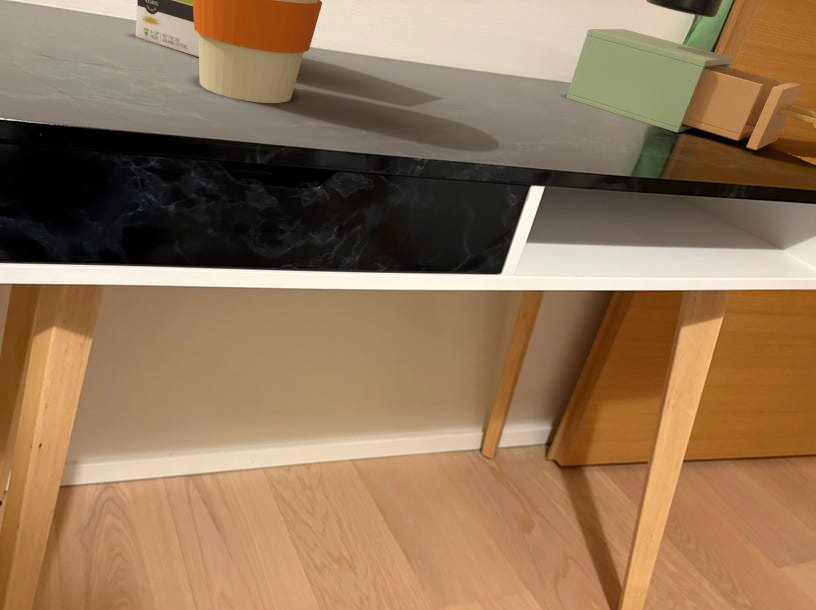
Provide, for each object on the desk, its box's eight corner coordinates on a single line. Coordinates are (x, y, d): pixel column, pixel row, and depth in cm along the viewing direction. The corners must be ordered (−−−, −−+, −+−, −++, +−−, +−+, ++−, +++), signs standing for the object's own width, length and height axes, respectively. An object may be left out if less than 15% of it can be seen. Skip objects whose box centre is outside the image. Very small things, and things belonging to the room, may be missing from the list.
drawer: (822, 154, 104) (850, 97, 100) (805, 165, 95) (836, 103, 91) (671, 108, 113) (692, 54, 110) (642, 115, 104) (664, 56, 101)
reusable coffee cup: (312, 90, 85) (338, -68, 77) (304, 119, 74) (334, -61, 66) (193, 67, 84) (208, -95, 76) (168, 93, 73) (182, -93, 66)
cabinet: (705, 125, 112) (733, 57, 107) (676, 134, 102) (706, 60, 97) (601, 93, 119) (624, 29, 114) (565, 99, 109) (588, 28, 104)
